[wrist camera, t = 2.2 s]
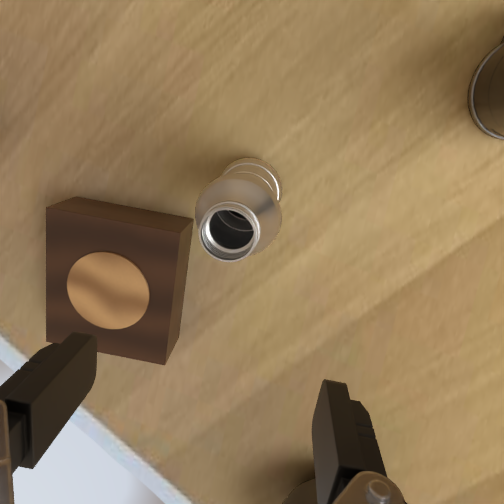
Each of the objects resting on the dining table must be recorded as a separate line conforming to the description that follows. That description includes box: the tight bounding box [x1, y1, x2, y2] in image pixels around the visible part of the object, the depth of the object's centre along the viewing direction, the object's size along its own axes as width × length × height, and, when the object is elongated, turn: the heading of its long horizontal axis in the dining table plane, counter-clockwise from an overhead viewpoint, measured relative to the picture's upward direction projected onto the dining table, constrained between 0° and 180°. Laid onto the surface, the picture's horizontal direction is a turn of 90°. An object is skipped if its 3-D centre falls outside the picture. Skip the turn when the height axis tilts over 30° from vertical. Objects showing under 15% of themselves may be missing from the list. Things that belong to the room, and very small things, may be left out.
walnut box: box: [46, 197, 194, 365], centre depth 45 cm, size 16×14×6 cm
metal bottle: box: [195, 158, 282, 262], centre depth 34 cm, size 6×7×20 cm
